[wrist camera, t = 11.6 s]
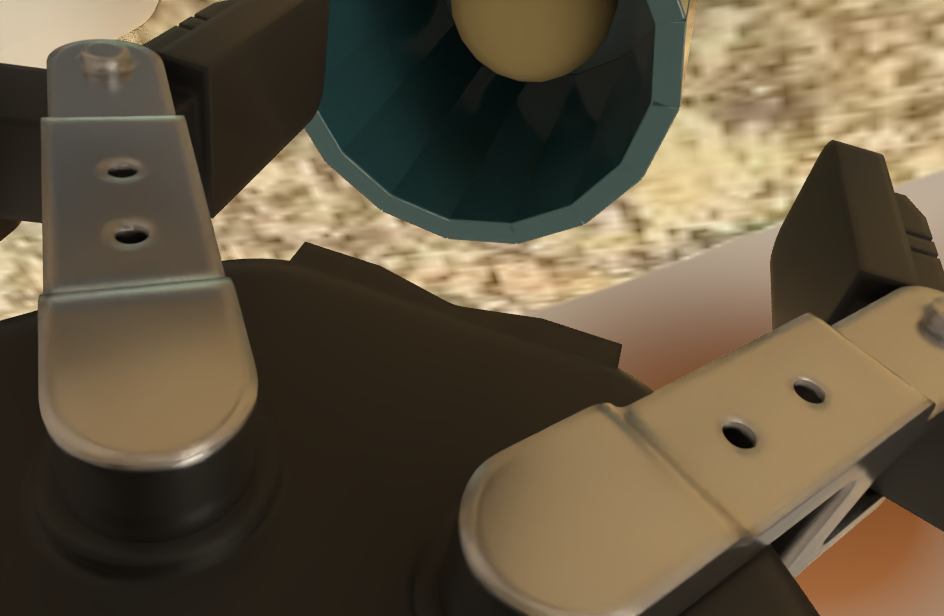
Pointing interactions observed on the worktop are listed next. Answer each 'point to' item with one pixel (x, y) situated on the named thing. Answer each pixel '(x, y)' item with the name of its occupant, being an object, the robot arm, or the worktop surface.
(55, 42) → the cylindrical container
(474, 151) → the canister
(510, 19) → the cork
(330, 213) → the worktop surface
